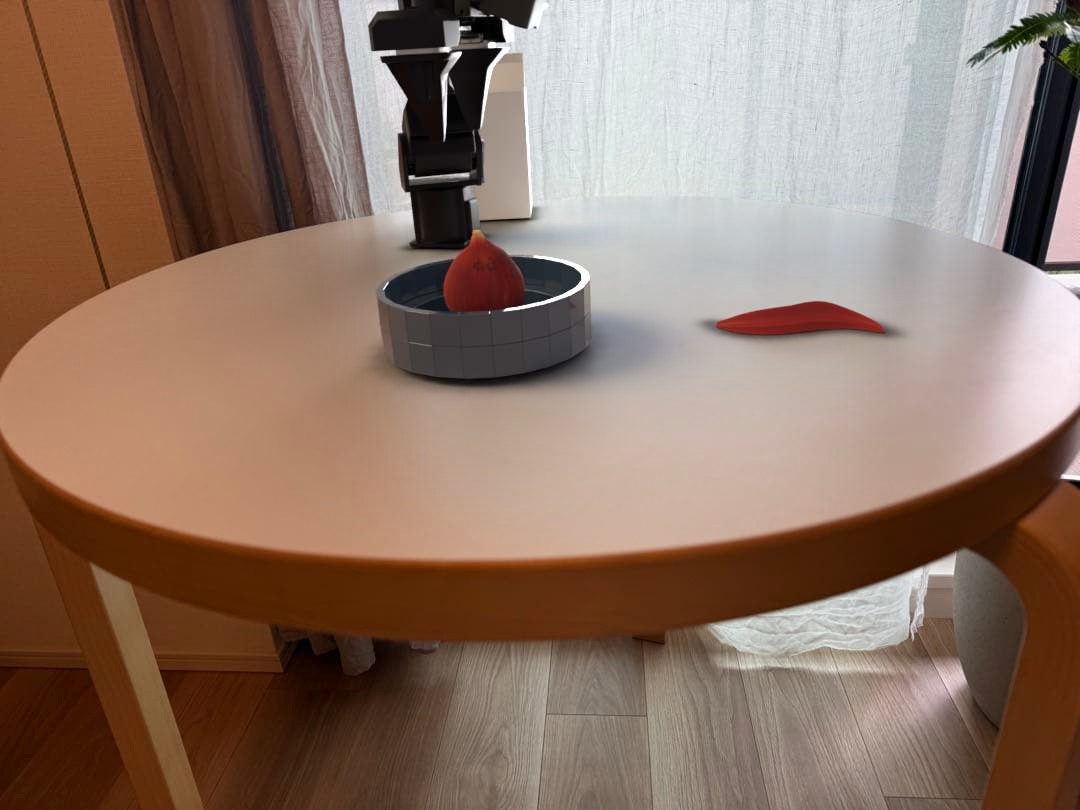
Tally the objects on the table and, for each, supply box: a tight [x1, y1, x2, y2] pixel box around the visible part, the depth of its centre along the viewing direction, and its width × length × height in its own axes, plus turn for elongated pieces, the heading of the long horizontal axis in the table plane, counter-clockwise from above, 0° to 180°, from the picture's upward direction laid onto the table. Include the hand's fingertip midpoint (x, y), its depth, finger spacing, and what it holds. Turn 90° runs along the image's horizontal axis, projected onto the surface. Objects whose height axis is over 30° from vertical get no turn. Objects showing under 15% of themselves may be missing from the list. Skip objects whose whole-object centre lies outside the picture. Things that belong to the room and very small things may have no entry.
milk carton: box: [472, 52, 533, 221], centre depth 102 cm, size 7×7×19 cm
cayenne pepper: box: [715, 300, 886, 336], centre depth 61 cm, size 12×5×2 cm, turn 69°
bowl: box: [374, 254, 592, 380], centre depth 60 cm, size 15×15×5 cm
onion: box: [444, 229, 525, 312], centre depth 59 cm, size 6×6×8 cm
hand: (457, 135), depth 73 cm, fingers open, 9 cm apart
